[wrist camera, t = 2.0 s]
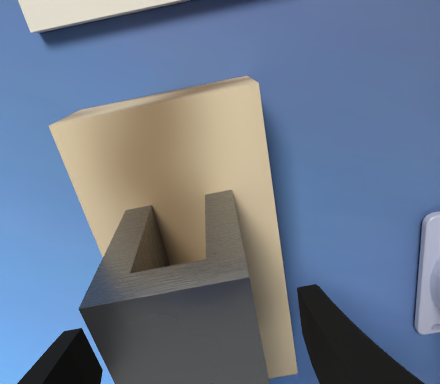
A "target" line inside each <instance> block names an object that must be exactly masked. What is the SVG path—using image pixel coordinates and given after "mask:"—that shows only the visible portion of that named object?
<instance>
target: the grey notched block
mask: <svg viewBox="0 0 440 384" xmlns="http://www.w3.org/2000/svg"><path fill="white" fill-rule="evenodd" d="M205 238H206V259H204V260H199V261H194V262H188V263H183V264H178V265H172V266H171V265H170V262H169V258H168V255H167V252H166V249H165V246H164V242H163V239H162V236H161V233H160V229H159V226H158V223H157V220H156V217H155V213H154V210H153V207H152V205H149V206H144V207H139V208H134V209H129V210H125V213H124V215H123V217H122V219H121V221H120V223H119V225H118V227H117V229H116V231H115V234H114V236H113V238H112V240H111V242H110V244H109V246H108V248H107V250H106V252H105V255H104V257H103V259H102V261H101V263H100V265H99V267H98V269H97V271H96V273H95V276H94V278H93V280H92V282H91V284H90V286H89V288H88V290H87V292H86V294H85V297H84V299H83V301H82V303H81V305H80V307H79V311H80V313H81V315H82V317H83V319H84V321H85V323H86V325H87V327H88V329H89V331H90V333H91V335H92V338H93V340H94V342H95V344H96V346H97V348H98V350H99V352H100V354H101V356H102V358H103V360H104V362H105V364H106V366H107V368H108V370H109V372H110V375H111V377H112V379H113V381H114V383H115V384H270V382H269V377H268V372H267V366H266V361H265V356H264V351H263V345H262V340H261V335H260V330H259V325H258V319H257V314H256V309H255V304H254V298H253V293H252V288H251V283H250V278H249V273H248V268H247V263H246V258H245V253H244V248H243V243H242V238H241V233H240V228H239V223H238V219H237V214H236V209H235V204H234V199H233V194H232V190H226V191H221V192H216V193H211V194H206V195H205Z"/></svg>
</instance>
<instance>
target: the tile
mask: <svg viewBox="0 0 440 384" xmlns="http://www.w3.org/2000/svg"><path fill="white" fill-rule="evenodd" d="M18 1H19V4H20V6H21V9H22V11H23V14H24V16H25V19H26V22H27V24H28V27H29V29H30V32H32V33H41V32H46V31H50V30H55V29H60V28H64V27H69V26H74V25H78V24H83V23H88V22H92V21H97V20H102V19H106V18H111V17H116V16H120V15H125V14H130V13H134V12H139V11H144V10H148V9H153V8H157V7H162V6H167V5H171V4H176V3H181V2H185V1H190V0H18Z"/></svg>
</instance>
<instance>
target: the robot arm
mask: <svg viewBox="0 0 440 384" xmlns="http://www.w3.org/2000/svg"><path fill="white" fill-rule="evenodd" d="M297 292H298V301H299V309H300V318H301V326H302V334H303V337H304V340H305V344H306V347H307V350H308V353H309V357H310V360H311V363H312V366H313V368H314V371H315V373H316V376H317V378H318V380H319V383H320V384H424V383H423V382H422V381H420V380H419V379H418V378H417V377H415V376H414V375H413V374H411V373H410V372H409V371H407V370H406V369H405V368H404V367H402V366H401V365H400V364H399V363H398V362H396V361H395V360H394V359H393V358H391V357H390V356H389V355H388V354H387V353H386V352H384V351H383V350H382V349H381V348H380V347H379V346H378V345H376V344H375V343H374V342H373V341H372V340H371V339H370V338H369V337H368V336H366V335H365V334H364V333H363V332H362V331H361V330H360V329H359V328H358V327H357V326H356V325H355V324H354V323H353V322H352V321H351V320H350V319H349V318H348V317H347V316H346V315H345V314H344V313H343V312H342V311H341V310H340V309H339V308H338V307H337V306H336V305H335V304H334V303H333V302H332V301H331V300H330V299H329V297H328V296H327V295H326V294H325V293H324V292H323V291H322V289H321V288H320V287H319V286H317V285H316V284H315V285H309V286H304V287H299V288H297ZM415 329H416V330H417V331H418V332H419V333H420V334H431V333H437V332H440V211H439V212H433V213H430V214H428V215H427V216H426V217H425V218H424V219H423V222H422V233H421V246H420V260H419V273H418V286H417V299H416V312H415ZM101 377H102V368H101V366H100V364H99V362H98V360H97V358H96V356H95V354H94V352H93V350H92V348H91V346H90V344H89V342H88V340H87V338H86V336H85V334H84V332H83V330H82V328H80V329H74V330H69V331H64V332H63V333H62V334H61V335H60V336H59V337H58V338H57V339H56V340H55V342H54V343H53V344H52V345H51V346H50V347H49V348H48V349H47V351H46V352H45V353H44V354H43V355H42V356H41V357H40V359H39V360H38V361H37V362H36V363H35V364H34V365H33V366H32V368H31V369H30V370H29V371H28V372H27V373H26V374H25V376H24V377H23V378H22V379H21V380H20V381H19V382H18V383H17V384H100V383H101Z"/></svg>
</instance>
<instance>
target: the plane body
mask: <svg viewBox="0 0 440 384" xmlns="http://www.w3.org/2000/svg"><path fill="white" fill-rule="evenodd" d="M49 128H50V130H51V133H52V135H53V137H54V140H55V142H56V145H57V147H58V150H59V152H60V155H61V157H62V159H63V162H64V164H65V167H66V169H67V172H68V174H69V176H70V179H71V181H72V184H73V186H74V189H75V191H76V193H77V196H78V198H79V201H80V203H81V206H82V208H83V210H84V213H85V215H86V218H87V220H88V223H89V225H90V228H91V230H92V232H93V235H94V237H95V240H96V242H97V245H98V247H99V249H100V252H101V254H102V257H104V255H105V252H106V250H107V248H108V246H109V244H110V242H111V240H112V238H113V236H114V234H115V231H116V229H117V227H118V225H119V223H120V221H121V219H122V217H123V215H124V213H125V210H129V209H134V208H139V207H144V206H149V205H152V207H153V210H154V213H155V217H156V220H157V223H158V226H159V229H160V233H161V236H162V239H163V242H164V246H165V249H166V252H167V255H168V258H169V262H170V265H171V266H172V265H178V264H183V263H188V262H194V261H199V260H204V259H206V238H205V195H206V194H211V193H216V192H221V191H226V190H232V194H233V199H234V204H235V209H236V214H237V219H238V223H239V228H240V233H241V238H242V243H243V248H244V253H245V258H246V263H247V268H248V273H249V278H250V283H251V288H252V293H253V298H254V304H255V309H256V314H257V319H258V325H259V330H260V335H261V340H262V345H263V351H264V356H265V361H266V366H267V372H268V377H269V379H270V378H276V377H281V376H287V375H293V374H298V371H297V363H296V356H295V348H294V341H293V334H292V326H291V319H290V311H289V304H288V297H287V289H286V282H285V275H284V267H283V260H282V252H281V245H280V238H279V230H278V223H277V215H276V208H275V201H274V193H273V186H272V178H271V171H270V164H269V156H268V149H267V142H266V134H265V127H264V119H263V112H262V105H261V97H260V90H259V83H258V82H256V81H255V80H253V79H252V78H250V77H248V76H243V77H238V78H233V79H228V80H223V81H219V82H214V83H209V84H204V85H199V86H194V87H189V88H185V89H180V90H175V91H170V92H165V93H160V94H155V95H151V96H146V97H141V98H136V99H131V100H126V101H121V102H117V103H112V104H107V105H102V106H97V107H92V108H87V109H83V110H79V111H77V112H75V113H73V114H71V115H69V116H67V117H65V118H63V119H61V120H59V121H57V122H55V123H53V124H52V125H50V126H49Z"/></svg>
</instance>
